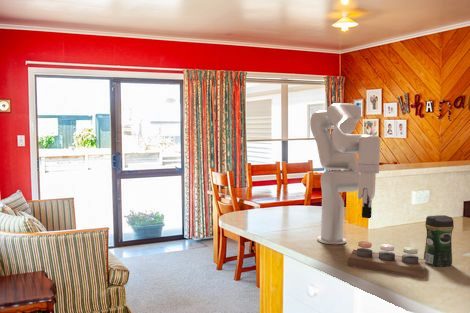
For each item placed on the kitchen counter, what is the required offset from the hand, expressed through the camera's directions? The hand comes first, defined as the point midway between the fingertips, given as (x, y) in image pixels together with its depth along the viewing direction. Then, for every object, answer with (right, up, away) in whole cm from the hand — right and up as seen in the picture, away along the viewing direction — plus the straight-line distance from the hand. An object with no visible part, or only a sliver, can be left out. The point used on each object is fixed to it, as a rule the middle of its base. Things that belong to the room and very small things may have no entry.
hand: (366, 217), depth 165 cm
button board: (+7, -18, -2) cm, 19 cm away
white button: (+7, -11, -2) cm, 13 cm away
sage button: (+14, -12, -6) cm, 19 cm away
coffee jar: (+28, -18, +3) cm, 33 cm away
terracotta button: (0, -11, +1) cm, 11 cm away
